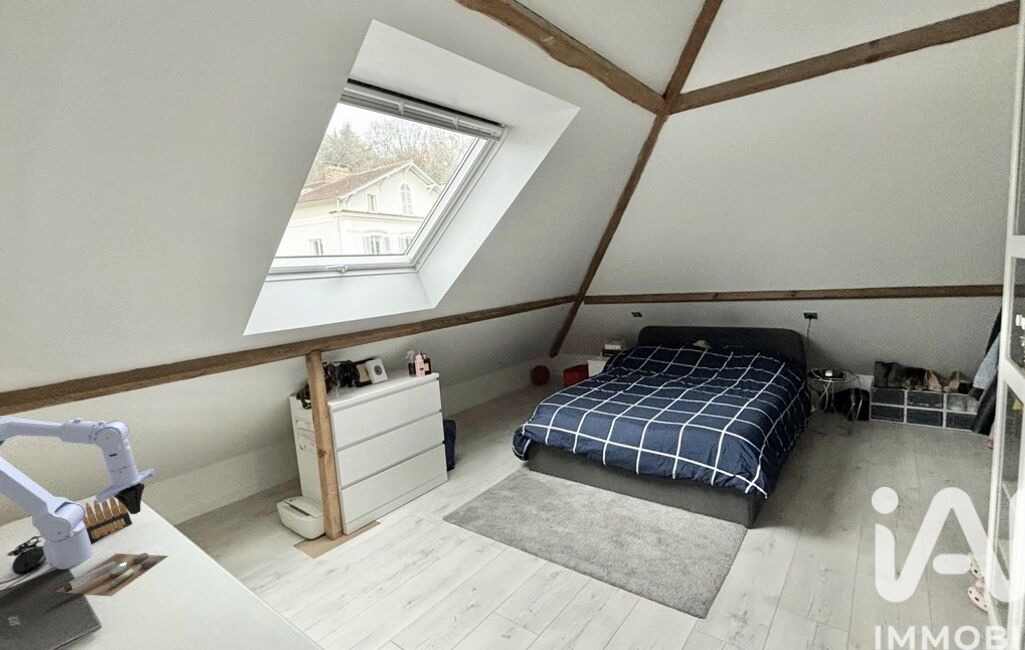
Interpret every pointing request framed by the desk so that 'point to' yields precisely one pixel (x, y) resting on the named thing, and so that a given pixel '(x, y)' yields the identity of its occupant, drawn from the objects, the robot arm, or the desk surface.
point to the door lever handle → (97, 574)
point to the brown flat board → (113, 585)
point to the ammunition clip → (105, 519)
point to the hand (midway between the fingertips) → (135, 512)
